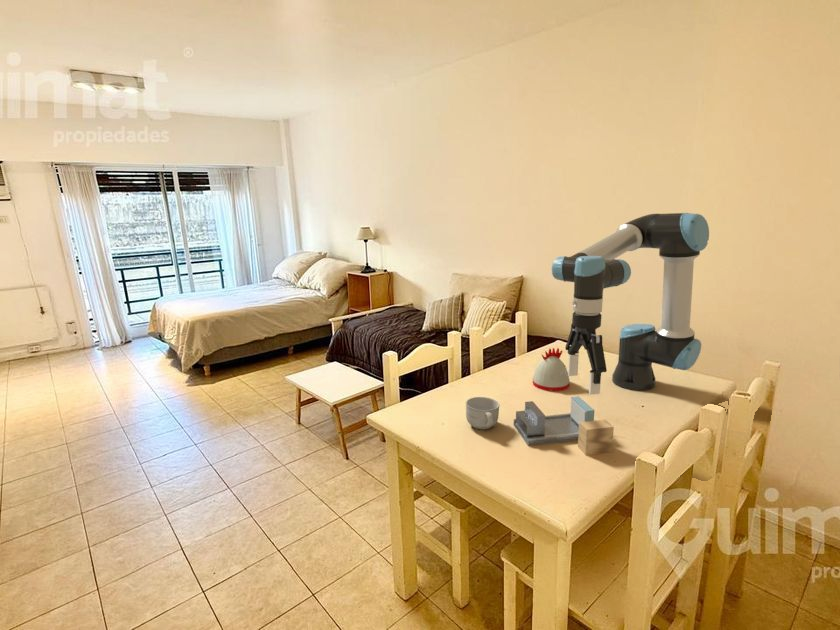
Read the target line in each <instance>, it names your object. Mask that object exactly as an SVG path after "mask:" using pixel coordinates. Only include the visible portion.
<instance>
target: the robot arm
mask: <svg viewBox="0 0 840 630" xmlns="http://www.w3.org/2000/svg"><path fill="white" fill-rule="evenodd" d="M709 238H710V227H709V223H708V221H707V219H706V218H705V217H704V215H702V214H700V213H691V212H690V213H689V212H677V213H676V212H675V213H671V212H670V213H651V214H650V213H649V214H645V215H643V216H639V217H637V218H635V219H632V220H630V221H627V222H625V223H624V224H621V225H620V226H619V227H618V228H617V229H616V231H615V232H614V233H611V234H609V235H608V236H606V237H604V238H602V239H601V240H598V241H597V242H595V243H593V244H592V245H589V246H588V247H586V248H584V249H582V250H581V251H579V252H577V253H575V254H572V255H570V256H567V255H566V256H558V257H556V258H554V260H553V262H552V265H551V275H552V276H553V278H554V279H556V280H558V281H562V282H566V283H567V282H569V283H574V285H573V286H574V287H573V299H572V300H573V301H572V302H571V304H572V311H573V313H572V318H571V320H572V322H571V323H570V324H571V326H570V332H569V335H568V338H567V342H566V345H565V348H564V349H565V351H567V354H568V366H567V367H568V368H567V372H568V376H569V377H573V376H578V375H579V373H578V372H579V354H580V352H579V351H580V349H581V348H582V346H583V349H584V350H586V353H587V357H588V361H589V364H590V368H591V370H589V386H588V387H589V389H588V394H589V395H598V394H599V395H600V394H601V382H602V381H601V379H602V373H607V371H608V369H607V364H606V359H605V358H606V357H605V353H604V351H605V350H604V345H603V335H602V334H597V331H596V330H598V329H599V328H601V326H602V314H601V312H603V301H604V300H603V299H604V298H603V297H604V289H609V288H613V287H614V288H615V287H619V286H620V285H624V284H625V283H628V281H629V280H630V278H631V274H632V270H631V267H630V264H629V263H628V262H627V261H626V260H624V259H620V258H619V259H617V258H618V257H620V256H622V255H624V254H625V253H627V252H633V251H634V252H635V251H636V250H638V249H658V252H659V253H658V254H659V255H658V256H659V257H660V258H661V259H662V260H663V278H662V279H663V280H662V303H661V305H662V306H661V323H660V324H661V325H660V326H659V327H658V328H656V326H655V325H653V324H649V323H648V324H647V323H634V324H626V325H624V326H623V327H621V329H620V334H619V336H618V337H619V342H618V343H619V344H618V345H619V347H618V361H617V364H616V365H615V369H614V371H613V373H612V375H611V376H612V377H611V381H612V383H613V384H614V385H615V386H617V387H621V388H624V389H627V390H633V391H648V390H652V389H654V388H655V387H656V376H655V373H654V370H653V364H656V365H661V366H664V367H668V368H672V369H674V370H675V369H676V370H681V371H688V370H690V369H691V368H692V367H693V366H694V365H695V363H697V360H698V358H699V356H700V353H701V350H702V342H701V339H698V338H695V330H694V329H693V328H691V312H692V297H693V279H694V267H695V265H694V263H695V259H696V258H698V257H699V256H700V255H701V253H700V252H702V251H704V250H705V249H706V247H707V246H708V241H709V240H710V239H709Z"/></svg>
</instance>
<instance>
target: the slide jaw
mask: <svg viewBox="0 0 840 630" xmlns="http://www.w3.org/2000/svg"><path fill="white" fill-rule="evenodd" d="M570 413H571V418H572V419H573V420H574V421H575V422H576V423H577V424H578V425H579V422H585V421H595V409H594V407H593V408H592V406H590V405H589V404H588V403H587V402H586V401H585V400H584V399H582V398H581V397H580V396H579V395H578V396H571V400H570Z"/></svg>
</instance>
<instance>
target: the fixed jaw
mask: <svg viewBox="0 0 840 630" xmlns="http://www.w3.org/2000/svg"><path fill="white" fill-rule="evenodd" d="M545 416H546V414H544V412H542V410H541V409H540V408H539V407H538V406H537V404H536V403H535V402H534V401H530V400H529V401H525V402H524V410H519V411H518V410H517V411H515V419H516V424H517V425H518V426H519V428H520V429H521V431H522V432H523V434H524V435H525V436H526V438H531V437H540V436H545Z"/></svg>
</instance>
